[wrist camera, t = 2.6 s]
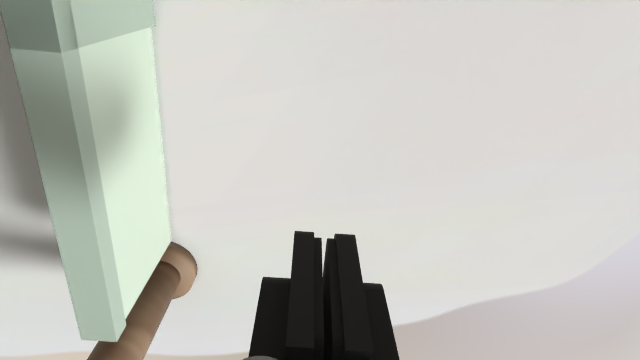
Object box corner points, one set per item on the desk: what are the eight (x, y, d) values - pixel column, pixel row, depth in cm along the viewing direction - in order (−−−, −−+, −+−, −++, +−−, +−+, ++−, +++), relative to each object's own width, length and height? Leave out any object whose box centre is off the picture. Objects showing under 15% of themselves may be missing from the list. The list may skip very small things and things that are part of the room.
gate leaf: (174, 240, 26) (116, 342, 19) (149, 238, 26) (81, 339, 19) (152, -11, 19) (50, -3, 12) (118, -13, 19) (-4, -8, 12)
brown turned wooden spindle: (195, 243, 26) (107, 427, 16) (198, 291, 28) (120, 485, 17) (133, 238, 26) (0, 420, 15) (140, 287, 28) (25, 480, 17)
